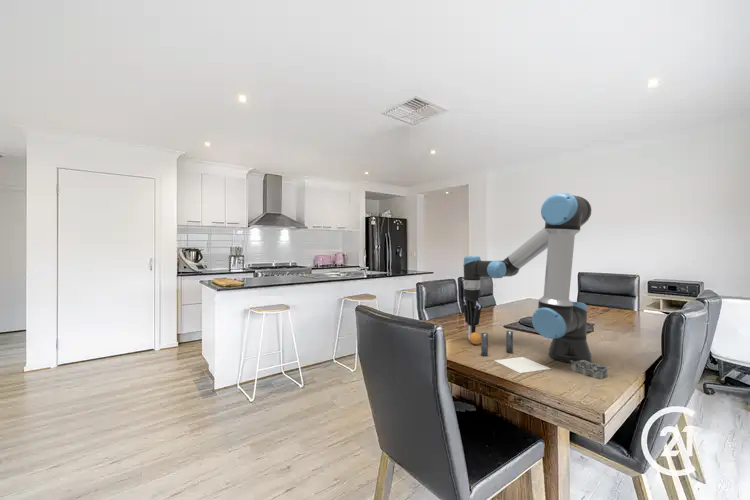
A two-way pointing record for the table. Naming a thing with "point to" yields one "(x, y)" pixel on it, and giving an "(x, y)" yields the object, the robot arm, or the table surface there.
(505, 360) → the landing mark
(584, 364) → the egg carton
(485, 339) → the post left
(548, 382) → the table surface
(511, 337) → the post right
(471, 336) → the ball
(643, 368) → the table surface
